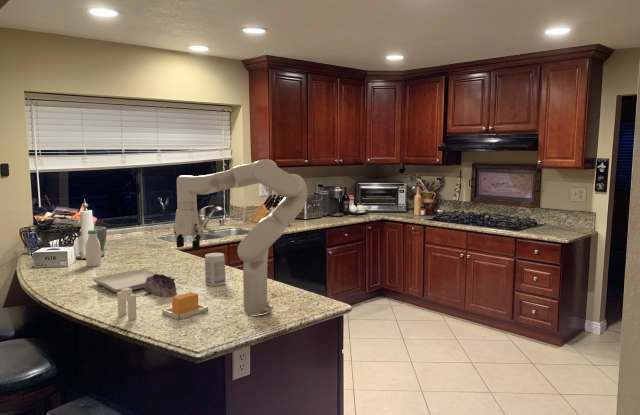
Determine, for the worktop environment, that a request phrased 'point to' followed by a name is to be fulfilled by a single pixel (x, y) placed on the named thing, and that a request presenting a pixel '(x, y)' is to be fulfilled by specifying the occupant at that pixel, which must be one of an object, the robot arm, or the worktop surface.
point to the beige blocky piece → (131, 299)
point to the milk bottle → (93, 249)
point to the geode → (160, 286)
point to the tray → (169, 313)
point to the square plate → (125, 280)
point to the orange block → (184, 303)
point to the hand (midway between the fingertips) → (188, 248)
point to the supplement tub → (215, 269)
